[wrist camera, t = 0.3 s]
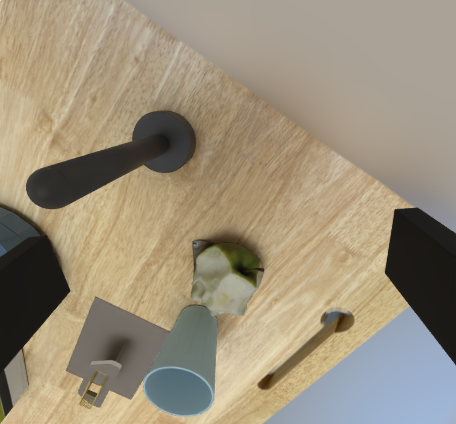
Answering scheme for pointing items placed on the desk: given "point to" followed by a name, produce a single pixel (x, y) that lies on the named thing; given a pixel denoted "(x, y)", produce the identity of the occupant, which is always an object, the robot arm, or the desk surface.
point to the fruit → (224, 276)
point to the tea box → (12, 384)
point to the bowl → (13, 230)
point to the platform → (114, 352)
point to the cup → (185, 365)
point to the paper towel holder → (116, 161)
